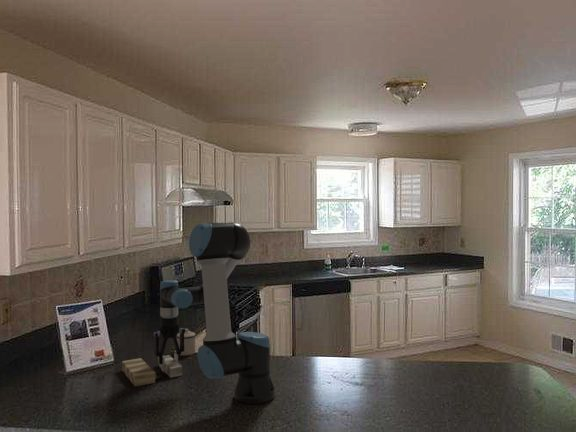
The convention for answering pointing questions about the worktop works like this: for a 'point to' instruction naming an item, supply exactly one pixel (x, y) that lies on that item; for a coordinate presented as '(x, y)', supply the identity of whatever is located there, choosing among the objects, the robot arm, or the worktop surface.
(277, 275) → the worktop surface
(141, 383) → the oak floor row
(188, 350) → the teacup with lid
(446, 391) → the worktop surface
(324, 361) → the worktop surface
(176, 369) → the plank
